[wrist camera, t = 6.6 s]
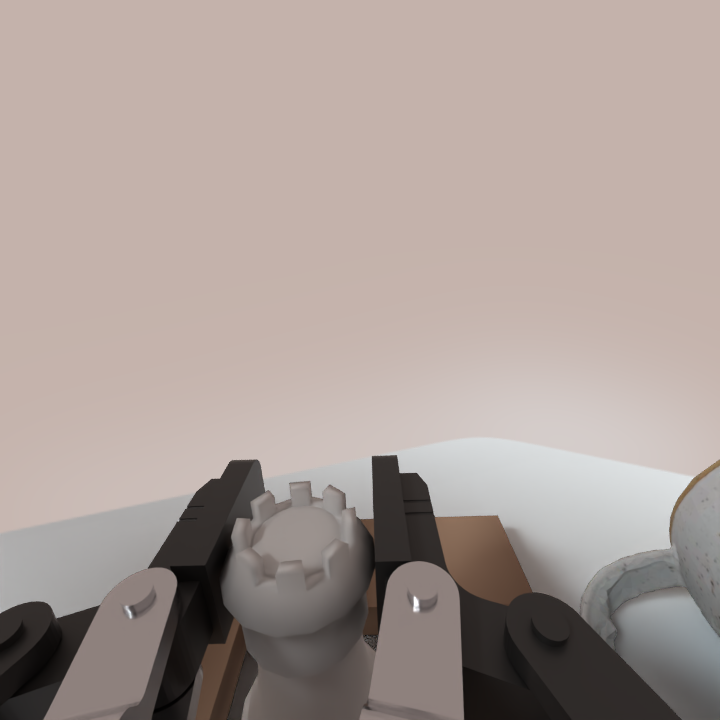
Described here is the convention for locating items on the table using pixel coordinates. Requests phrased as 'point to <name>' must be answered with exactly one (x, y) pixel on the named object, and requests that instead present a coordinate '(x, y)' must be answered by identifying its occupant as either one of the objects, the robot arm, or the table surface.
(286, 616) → the rook chess piece
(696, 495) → the ceramic mug
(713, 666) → the table surface
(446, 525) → the walnut frame
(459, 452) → the table surface
